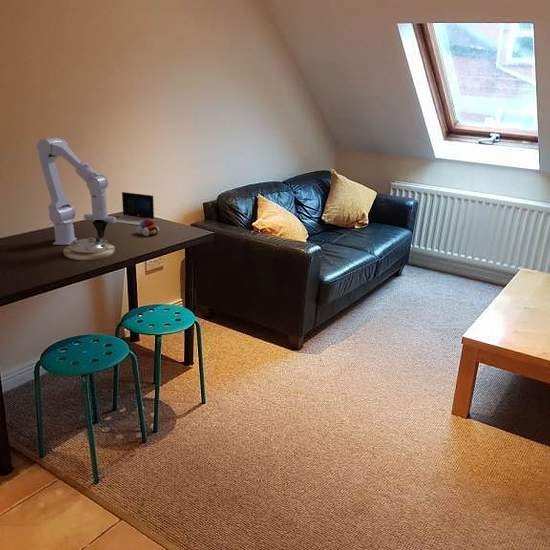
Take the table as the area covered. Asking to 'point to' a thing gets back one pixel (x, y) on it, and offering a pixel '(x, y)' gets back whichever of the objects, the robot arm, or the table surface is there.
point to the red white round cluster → (147, 228)
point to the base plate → (95, 256)
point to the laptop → (136, 208)
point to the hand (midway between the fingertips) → (101, 237)
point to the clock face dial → (89, 245)
